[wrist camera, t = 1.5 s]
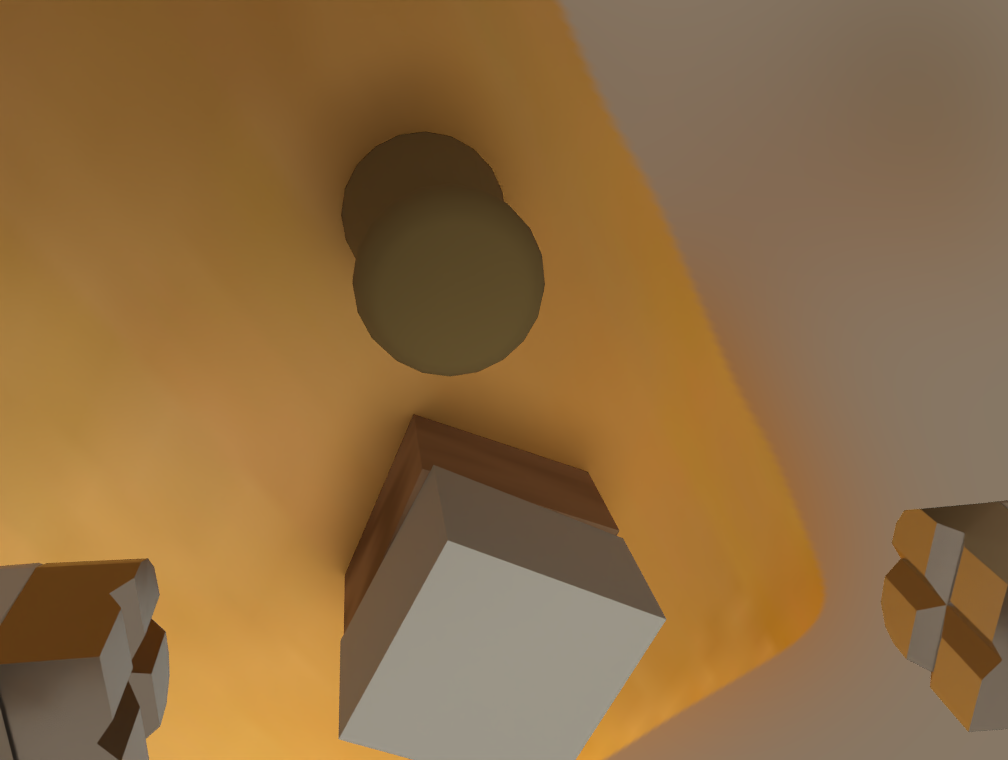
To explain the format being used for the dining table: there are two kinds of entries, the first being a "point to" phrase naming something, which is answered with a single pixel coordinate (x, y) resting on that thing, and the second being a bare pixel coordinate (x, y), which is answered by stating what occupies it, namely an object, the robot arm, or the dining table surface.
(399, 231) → the cork
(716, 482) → the dining table surface
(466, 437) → the walnut block
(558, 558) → the grey block
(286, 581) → the dining table surface
